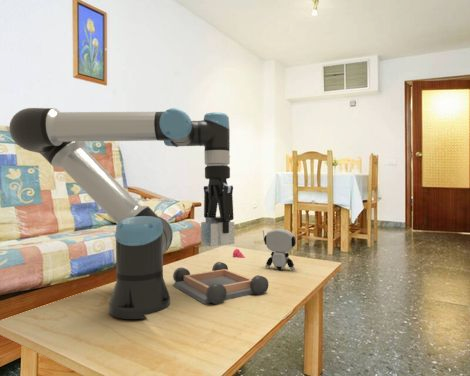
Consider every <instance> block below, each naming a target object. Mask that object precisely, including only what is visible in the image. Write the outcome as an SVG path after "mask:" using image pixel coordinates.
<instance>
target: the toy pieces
mask: <svg viewBox="0 0 470 376" xmlns="http://www.w3.org/2000/svg"><path fill="white" fill-rule="evenodd" d="M232 257H233V258H240V259H241V258H242V259H245V258H246V257H245V256H244V254H243V253H242V252H241V251H240V249H239V248H235V249H234V250H233V253H232Z"/></svg>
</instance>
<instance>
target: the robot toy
mask: <svg viewBox="0 0 470 376" xmlns="http://www.w3.org/2000/svg"><path fill="white" fill-rule="evenodd" d="M262 234H263V241H264V245H265V246H266V248H267V249H268V250H269V251H271V253H270V255H271V256H270V257H268V258H267V260H266V263H265V268H266V269H270V268H271V266H272V264H273V266H274V269H276V270H278V271H282V270H283V269H285V268H286V265H287V266H288V268H289V270H290V272H294V271H295V270H296V267H295V264H294V262H293V260H292V259H291V258H290V257H289V256H290V254H289V252H290V251H292V250H293V248H294V247H295V246H296V245H297V244H296V243H297V237H296V231H294V234H293V232H291V231H290V230H287V229H283V228H276V229H272V230H269V231H268V232H266V235H265V230H264V229H263V230H262Z"/></svg>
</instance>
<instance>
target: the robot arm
mask: <svg viewBox="0 0 470 376" xmlns="http://www.w3.org/2000/svg"><path fill="white" fill-rule="evenodd" d="M9 134H10V137H11V138H12V140H13V142H14V143H15V144H16V145H17V146H19V148H22V149H23V150H26V151H29V152H33V153H38V154H40V155H41V156H42V157H43V158H44V159H45V160H46V161H47V163H49V164H50V165H51V166H52V167H53V168H61V169H62V170H63V171H64V172H66V173H67V175H69V177H70V178H71V179H73V181H74V182H75V183H76V184H77V185H78V186H79V187H80V188H81V189H82V190H83V191H84V192H85V193H86V194H87V195H88V196H89V197H90V198H91V199H92V200H93V201H94V203H96V204H97V205H98V206H99V208H101V210H103V211H104V212H105V214H106V215H107V216H109V218H110V219H111V220H112V221H113V222H114V223H116V228H115V236H114V238H115V257H116V259H115V263H116V265H115V267H116V269H115V270H116V282H115V285H114V288H113V291H112V294H111V298H110V301H109V314H110V315H111V316H112V317H114V318H118V319H124V320H137V319H138V320H139V319H146V318H147V316H146V315H151V314H152V315H153V314H155V313H159V312H161V311H164V310H165V309H168V307H169V306H170V305H171V297H170V293H169V291H168V288H167V285H166V282H165V280H164V261H163V260H164V258H163V257H164V254H165V253H166V252H167V251H168V250H169V248H170V246H171V244H172V242H173V239H174V233H173V229H172V226H171V225H170V223H169V222H168V221H167V219H164V218H163V217H161V216H158V215H157V213H155V212H154V211H153V210H152V208H151V207H149V206H148V205H140V203H138V202H137V200H135V198H134V197H132V195H130V193H129V192H128V191H127V190H126V189H125V188H124V187H123V186H122V185H121V184H120V183H119V182H118V181H117V180H116V179H115V178H114V177H113V176H112V175H111V173H109V172H108V171H107V170H106V169H105V168H104V167H103V166H102V165H101V164H100V162H99V161H97V159H96V158H95V157H94V156H93V155H92V154H91V153H90V152H89V151H88V150H87V149H86V142H137V141H138V142H139V141H140V142H141V141H146V142H147V141H150V142H151V141H159V142H163V144H164V145H165V146H167V147H175V148H178V147H197V146H198V147H204V151H203V152H204V153H203V154H204V165H205V166H204V178H205V179H206V180H208V185H204V186H203V193H204V196H203V197H204V201H203V207H204V208H203V213H204V214H203V217H204V218H205V219H206V217H217V211H219V216H220V218H221V220H220V221H219V237H220V245H221V246H226V245H225V244H229V222H231V221H233V220H234V218H235V217H234V201H233V199H234V198H233V190H234V186H233V185H228V182H227V180H228V179H230V178H231V167H230V166H229V165H230V164H231V160H230V158H231V156H230V146H231V145H230V143H231V142H230V138H231V137H230V136H231V135H230V120H229V116H228V114H226V113H223V112H216V111H215V112H208V113H205V114H204V116H203V120H192V119H191V118H190V116H189V114H187V112H185V111H184V110H182V109H179V108H176V107H172V108H169V109H166V110H165V111H76V112H75V111H74V112H73V111H64V112H63V111H60V110H59V109H57V108H54V107H49V108H48V107H28V108H24V109H21V110H19V111H17V112H16V113H15V114H14V115H13V116H12V118H11V120H10V123H9Z"/></svg>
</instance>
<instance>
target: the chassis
mask: <svg viewBox="0 0 470 376" xmlns="http://www.w3.org/2000/svg"><path fill="white" fill-rule="evenodd" d="M172 277H173V281H174V282H173V286H174V287H175V288H176V289H178V290H180V291H182V292H183V293H185V294H187V295H188V296H189V297H192V298H194V299H195V300H197V302H200V303H201V304H203V305H208V304H214V305H220V304H222V303H223V302H224V301H226V300H231V299H235V298H241V297H245V296H250V295H254V294H256V295H259V296H261V295H264V294H265V293H267V291H268V289H269V280H268V279H267V278H266V277H265V276H262V275H259V274H258V275H255V276H253V277H252V278H251V277H248V276H245V275H243V274H239V273H237V272H234V271H232V270H229V268H228V265H227V264H226V263H225V262H222V261H218V262H216V263H214V264H213V266H212V269H211V271H204V272H200V273H199V272H198V273H193V274H192V273H191V272H190V271H189V269H187V268H185V267H177V268H176V269H175V270H174V271H173V275H172Z"/></svg>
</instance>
